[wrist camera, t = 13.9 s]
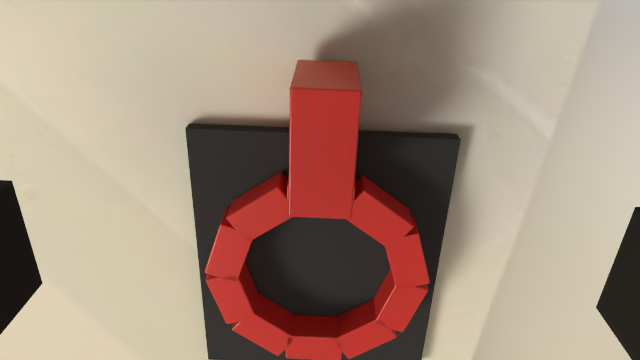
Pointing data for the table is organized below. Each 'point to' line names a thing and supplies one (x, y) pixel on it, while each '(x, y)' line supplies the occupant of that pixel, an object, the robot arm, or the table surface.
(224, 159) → the rubber mat
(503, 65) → the table surface
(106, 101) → the table surface
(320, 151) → the red ring
